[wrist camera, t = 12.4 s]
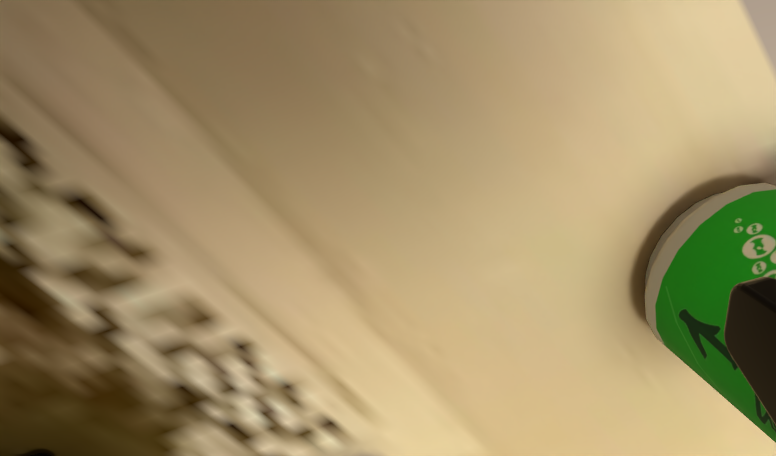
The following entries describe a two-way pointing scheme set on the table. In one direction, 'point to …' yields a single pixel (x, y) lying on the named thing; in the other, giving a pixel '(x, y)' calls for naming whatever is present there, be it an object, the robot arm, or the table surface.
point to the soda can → (712, 285)
